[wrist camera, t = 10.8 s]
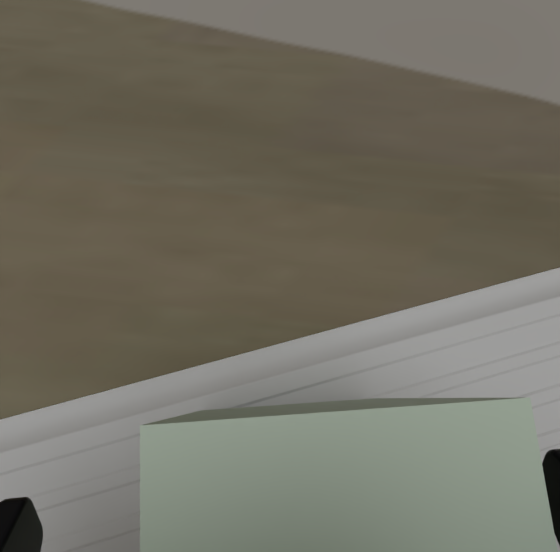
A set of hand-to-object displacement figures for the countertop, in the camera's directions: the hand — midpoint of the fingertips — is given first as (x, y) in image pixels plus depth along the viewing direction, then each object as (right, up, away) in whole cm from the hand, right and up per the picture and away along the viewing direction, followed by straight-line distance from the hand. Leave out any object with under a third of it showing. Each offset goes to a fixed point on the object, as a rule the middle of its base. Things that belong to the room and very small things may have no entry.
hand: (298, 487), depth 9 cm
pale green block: (0, -3, +10) cm, 10 cm away
